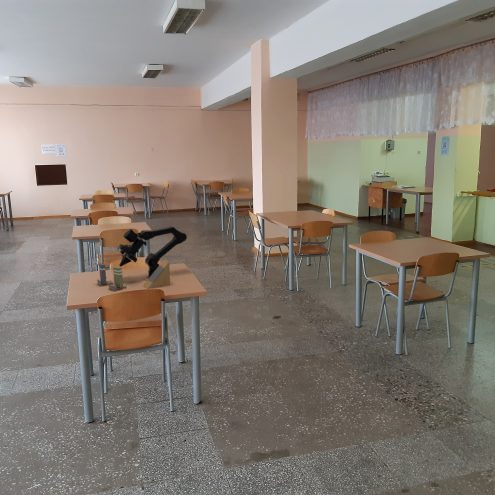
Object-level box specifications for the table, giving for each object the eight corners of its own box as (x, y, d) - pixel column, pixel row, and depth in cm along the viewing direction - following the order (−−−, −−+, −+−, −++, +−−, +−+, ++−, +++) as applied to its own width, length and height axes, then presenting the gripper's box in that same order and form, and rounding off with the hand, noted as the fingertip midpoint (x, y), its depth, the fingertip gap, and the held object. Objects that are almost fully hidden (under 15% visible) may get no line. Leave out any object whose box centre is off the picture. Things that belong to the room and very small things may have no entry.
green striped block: (117, 285, 289) (116, 266, 287) (123, 286, 287) (122, 267, 284) (114, 286, 287) (112, 267, 285) (120, 287, 285) (118, 268, 282)
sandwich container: (141, 286, 292) (140, 262, 289) (165, 282, 300) (163, 259, 297) (146, 289, 285) (145, 265, 282) (170, 285, 293) (169, 261, 290)
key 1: (104, 281, 298) (103, 263, 296) (106, 283, 294) (105, 264, 291) (100, 282, 297) (98, 263, 294) (102, 284, 292) (101, 265, 290)
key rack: (109, 281, 302) (108, 277, 301) (127, 288, 287) (127, 283, 286) (95, 284, 295) (95, 280, 295) (113, 291, 280) (113, 287, 280)
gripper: (121, 237, 305) (105, 256, 302) (130, 241, 290) (114, 261, 287) (134, 247, 311) (119, 266, 308) (144, 252, 296) (128, 272, 292)
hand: (119, 266), depth 298 cm, fingers closed
